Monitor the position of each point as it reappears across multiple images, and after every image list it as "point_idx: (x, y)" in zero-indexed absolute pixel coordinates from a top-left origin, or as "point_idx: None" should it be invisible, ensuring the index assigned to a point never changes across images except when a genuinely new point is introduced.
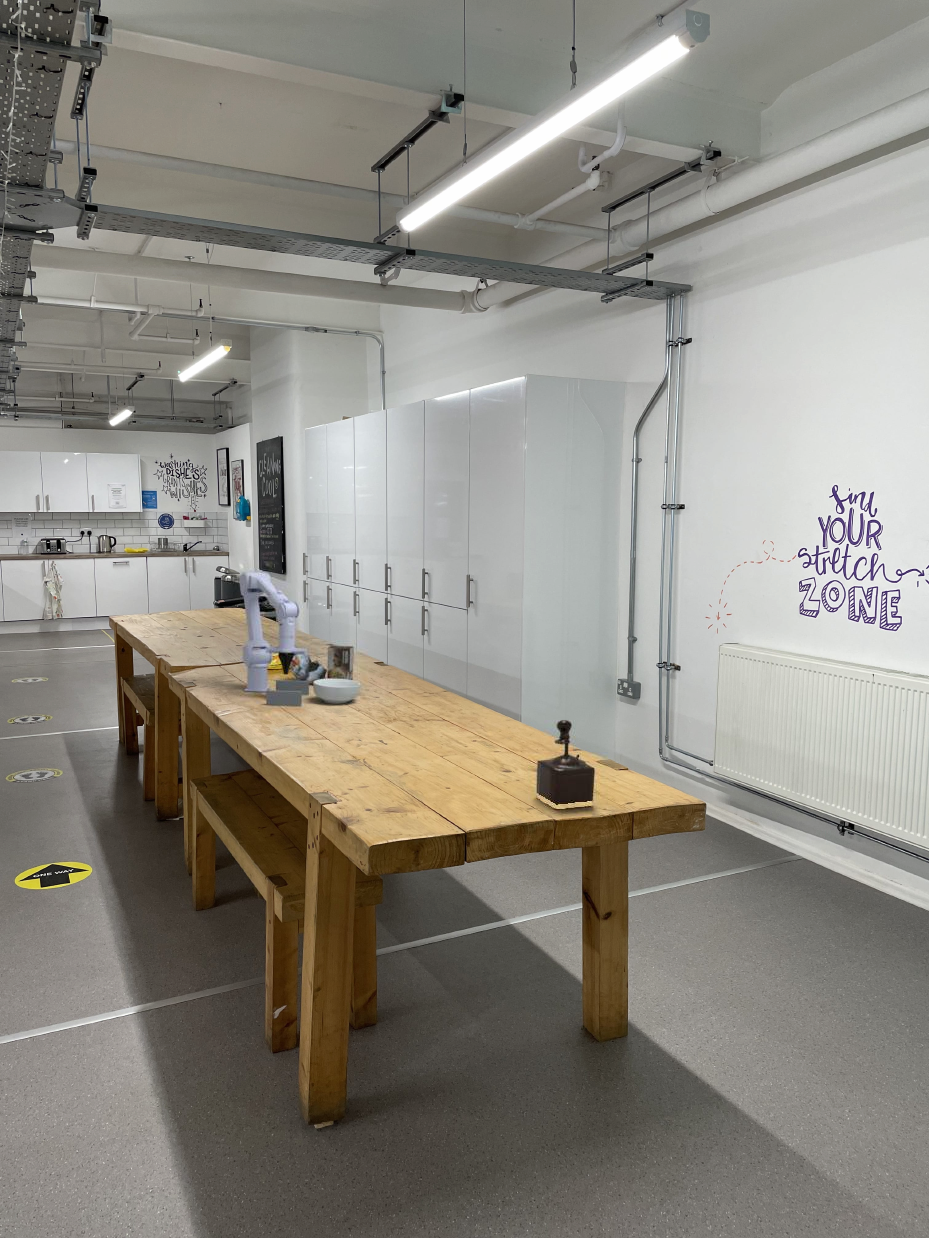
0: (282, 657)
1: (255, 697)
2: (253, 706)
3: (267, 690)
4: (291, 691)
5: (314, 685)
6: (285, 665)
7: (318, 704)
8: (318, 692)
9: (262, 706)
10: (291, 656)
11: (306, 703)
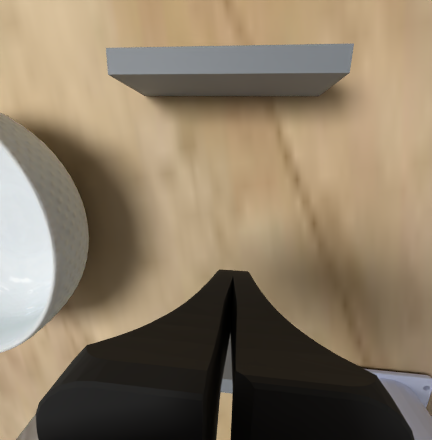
0: (287, 367)
1: (378, 259)
2: (390, 26)
3: (345, 62)
4: (173, 56)
5: (43, 183)
6: (235, 334)
7: (78, 138)
8: (37, 141)
9: (339, 37)
10: (72, 366)
11: (133, 153)
